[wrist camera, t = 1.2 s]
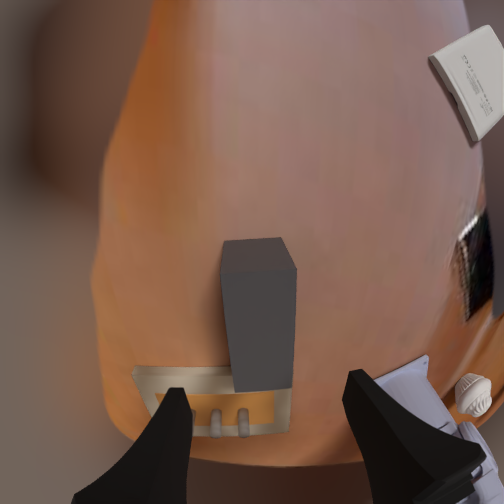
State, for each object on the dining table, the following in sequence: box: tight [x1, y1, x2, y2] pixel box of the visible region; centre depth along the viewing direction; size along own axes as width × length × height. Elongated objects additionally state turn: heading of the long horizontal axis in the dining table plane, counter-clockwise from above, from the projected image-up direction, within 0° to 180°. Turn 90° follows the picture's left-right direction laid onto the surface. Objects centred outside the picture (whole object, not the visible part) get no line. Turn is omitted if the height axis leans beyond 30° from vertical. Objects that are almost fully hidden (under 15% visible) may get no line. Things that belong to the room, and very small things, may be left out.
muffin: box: [455, 373, 492, 417], centre depth 24 cm, size 6×6×7 cm
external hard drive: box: [428, 25, 504, 141], centre depth 14 cm, size 2×8×12 cm
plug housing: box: [220, 237, 297, 393], centre depth 18 cm, size 9×4×5 cm, turn 3°
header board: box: [131, 366, 293, 438], centre depth 22 cm, size 14×10×4 cm
